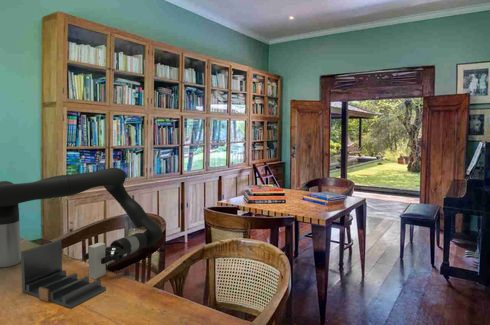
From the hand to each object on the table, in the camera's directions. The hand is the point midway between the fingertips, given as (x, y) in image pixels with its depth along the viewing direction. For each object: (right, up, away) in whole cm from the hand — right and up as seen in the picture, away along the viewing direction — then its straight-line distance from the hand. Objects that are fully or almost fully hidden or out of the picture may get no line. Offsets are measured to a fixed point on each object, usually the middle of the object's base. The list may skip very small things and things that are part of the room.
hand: (93, 259), depth 130 cm
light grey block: (+1, -7, +2) cm, 7 cm away
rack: (-5, -8, -10) cm, 14 cm away
